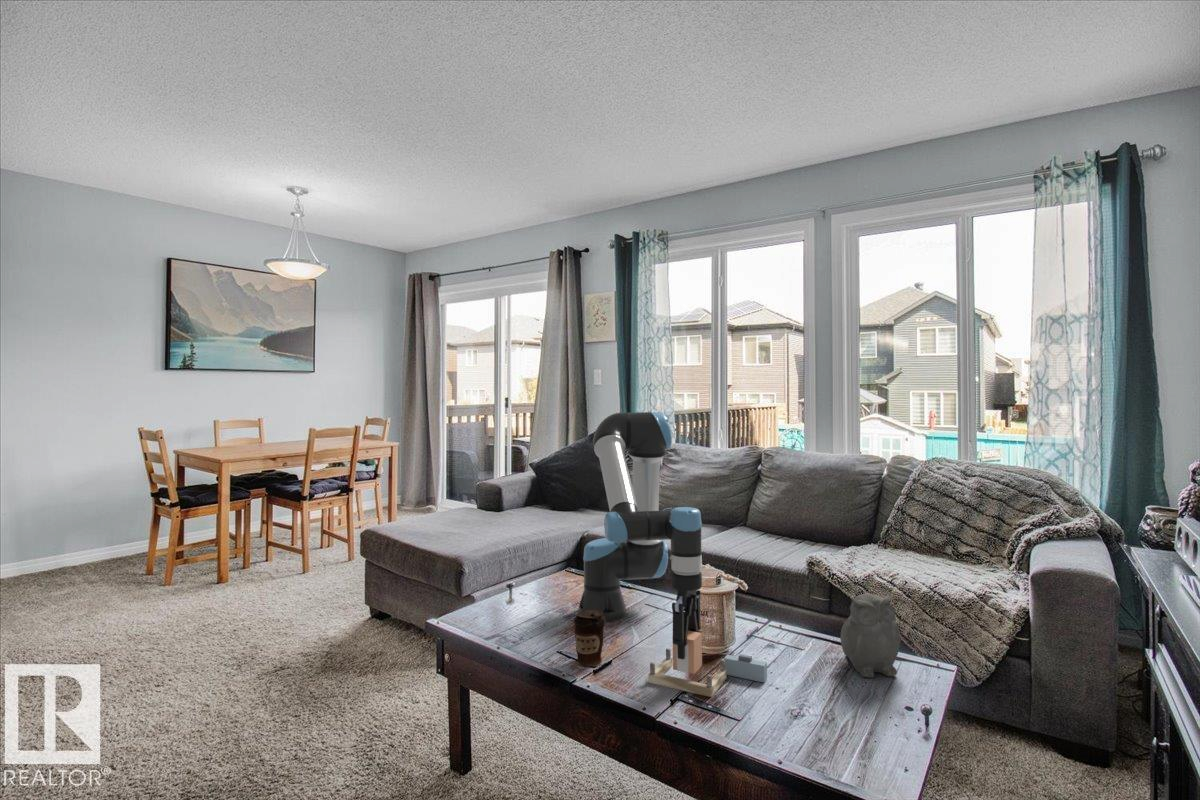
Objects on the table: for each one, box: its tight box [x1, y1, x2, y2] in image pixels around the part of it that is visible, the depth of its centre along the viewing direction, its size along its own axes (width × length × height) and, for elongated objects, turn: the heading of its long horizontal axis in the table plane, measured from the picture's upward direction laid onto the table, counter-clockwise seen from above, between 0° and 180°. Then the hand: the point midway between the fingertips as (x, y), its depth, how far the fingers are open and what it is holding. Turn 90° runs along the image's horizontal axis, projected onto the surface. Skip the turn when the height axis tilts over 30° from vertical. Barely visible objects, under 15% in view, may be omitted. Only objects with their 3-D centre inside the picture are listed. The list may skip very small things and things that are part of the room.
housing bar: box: [723, 654, 768, 683], centre depth 151 cm, size 2×10×5 cm, turn 61°
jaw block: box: [671, 631, 703, 675], centre depth 149 cm, size 6×6×8 cm
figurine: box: [839, 592, 902, 678], centre depth 156 cm, size 14×16×20 cm
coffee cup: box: [573, 610, 606, 667], centre depth 160 cm, size 9×8×13 cm
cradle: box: [647, 648, 728, 698], centre depth 149 cm, size 12×16×4 cm
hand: (687, 666), depth 149 cm, fingers closed on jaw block, 5 cm apart
